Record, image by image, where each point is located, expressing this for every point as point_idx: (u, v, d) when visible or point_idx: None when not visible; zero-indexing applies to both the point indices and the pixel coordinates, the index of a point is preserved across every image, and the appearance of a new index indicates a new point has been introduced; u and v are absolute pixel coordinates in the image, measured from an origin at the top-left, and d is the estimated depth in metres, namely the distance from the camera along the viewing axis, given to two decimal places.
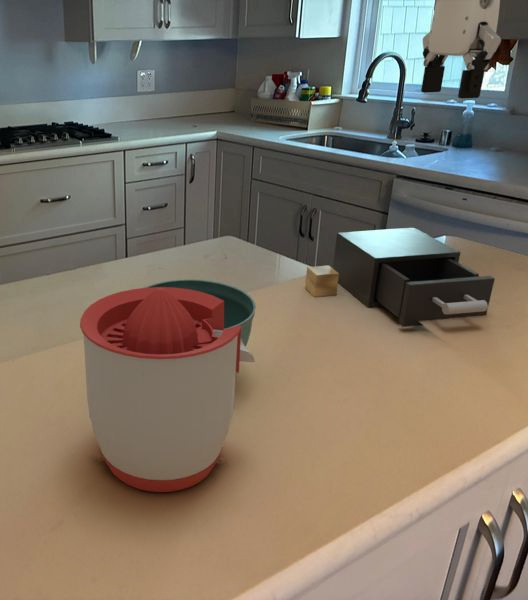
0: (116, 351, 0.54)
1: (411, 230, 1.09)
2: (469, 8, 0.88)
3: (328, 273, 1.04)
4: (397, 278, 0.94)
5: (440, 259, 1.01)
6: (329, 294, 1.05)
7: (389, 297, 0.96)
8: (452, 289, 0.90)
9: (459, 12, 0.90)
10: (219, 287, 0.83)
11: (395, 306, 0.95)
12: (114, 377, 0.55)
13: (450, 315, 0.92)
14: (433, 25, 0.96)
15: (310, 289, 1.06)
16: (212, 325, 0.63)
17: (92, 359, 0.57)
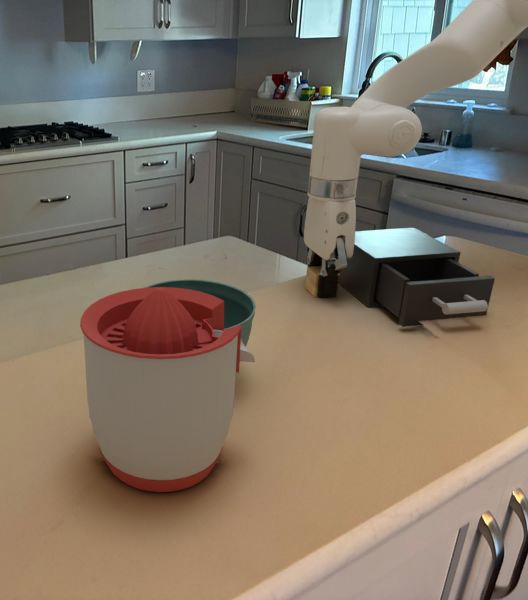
0: (116, 351, 0.54)
1: (411, 230, 1.09)
2: (328, 223, 0.97)
3: None
4: (397, 278, 0.94)
5: (440, 259, 1.01)
6: None
7: (389, 297, 0.96)
8: (452, 289, 0.90)
9: (321, 223, 0.99)
10: (219, 287, 0.83)
11: (395, 306, 0.95)
12: (114, 376, 0.55)
13: (450, 315, 0.92)
14: (306, 223, 1.05)
15: (310, 289, 1.06)
16: (212, 325, 0.63)
17: (92, 359, 0.57)
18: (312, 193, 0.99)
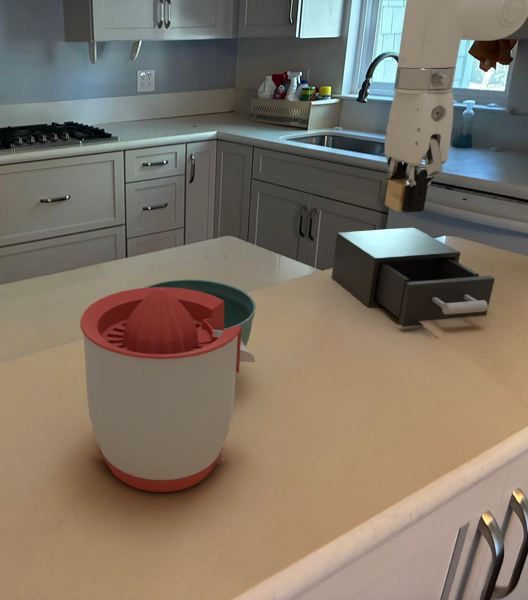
0: (116, 351, 0.54)
1: (411, 230, 1.09)
2: (421, 120, 0.85)
3: None
4: (397, 278, 0.94)
5: (440, 259, 1.01)
6: None
7: (389, 297, 0.96)
8: (452, 289, 0.90)
9: (411, 122, 0.86)
10: (219, 287, 0.83)
11: (395, 306, 0.95)
12: (114, 376, 0.55)
13: (450, 315, 0.92)
14: (388, 128, 0.93)
15: (393, 204, 0.93)
16: (212, 325, 0.63)
17: (92, 359, 0.57)
18: (401, 87, 0.86)
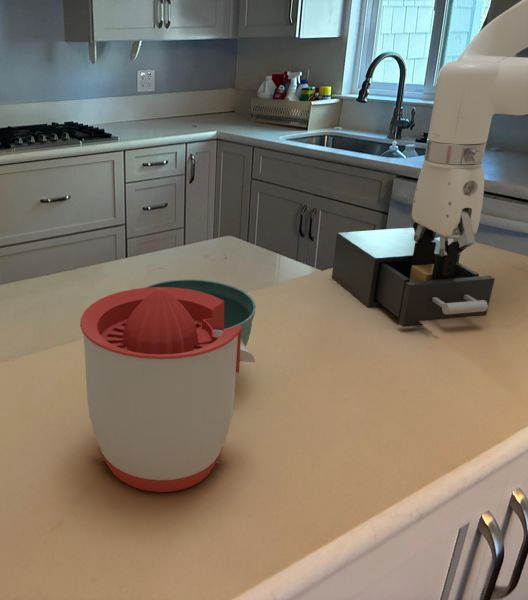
0: (116, 351, 0.54)
1: (411, 230, 1.09)
2: (452, 194, 0.85)
3: None
4: (397, 278, 0.94)
5: None
6: None
7: (389, 297, 0.96)
8: (452, 289, 0.90)
9: (442, 195, 0.87)
10: (219, 287, 0.83)
11: (395, 306, 0.95)
12: (114, 376, 0.55)
13: (450, 315, 0.92)
14: (416, 196, 0.93)
15: None
16: (212, 325, 0.63)
17: (92, 359, 0.57)
18: (432, 160, 0.87)
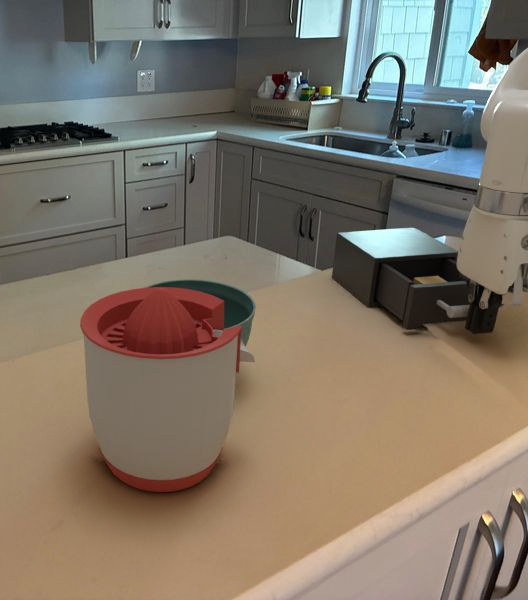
0: (116, 351, 0.54)
1: (411, 230, 1.09)
2: (509, 248, 0.76)
3: None
4: (401, 281, 0.93)
5: (444, 261, 1.00)
6: None
7: (392, 299, 0.95)
8: (457, 292, 0.89)
9: (496, 248, 0.77)
10: (219, 287, 0.83)
11: (399, 309, 0.94)
12: (114, 376, 0.55)
13: (455, 318, 0.91)
14: (463, 245, 0.83)
15: None
16: (212, 325, 0.63)
17: (92, 359, 0.57)
18: (485, 209, 0.77)
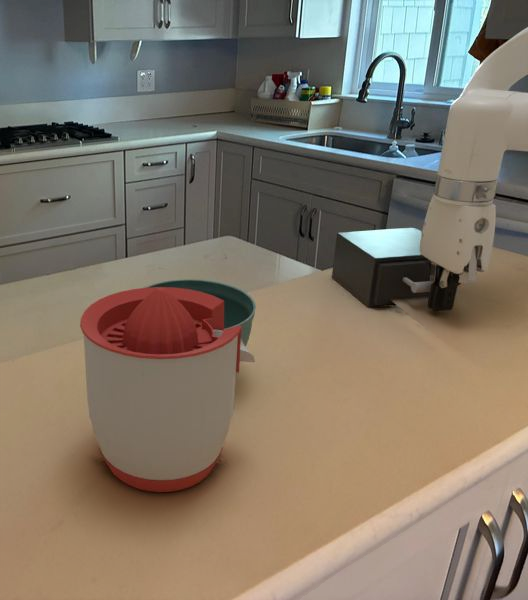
0: (116, 351, 0.54)
1: (411, 230, 1.09)
2: (463, 231, 0.84)
3: None
4: None
5: None
6: None
7: None
8: (421, 270, 0.98)
9: (453, 231, 0.85)
10: (219, 287, 0.83)
11: None
12: (114, 376, 0.55)
13: (420, 294, 0.99)
14: (425, 230, 0.92)
15: None
16: (212, 325, 0.63)
17: (92, 359, 0.57)
18: (443, 196, 0.85)
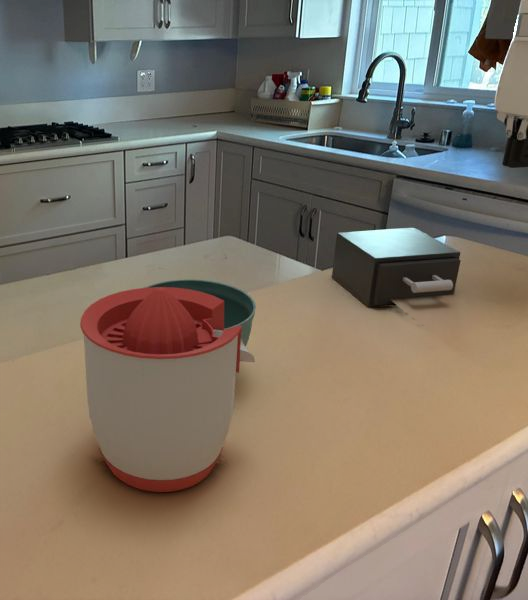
0: (116, 351, 0.54)
1: (411, 230, 1.09)
2: None
3: None
4: None
5: None
6: None
7: None
8: (421, 270, 0.98)
9: None
10: (219, 287, 0.83)
11: None
12: (114, 376, 0.55)
13: (420, 294, 0.99)
14: (501, 82, 0.88)
15: None
16: (212, 325, 0.63)
17: (92, 359, 0.57)
18: (525, 34, 0.81)
